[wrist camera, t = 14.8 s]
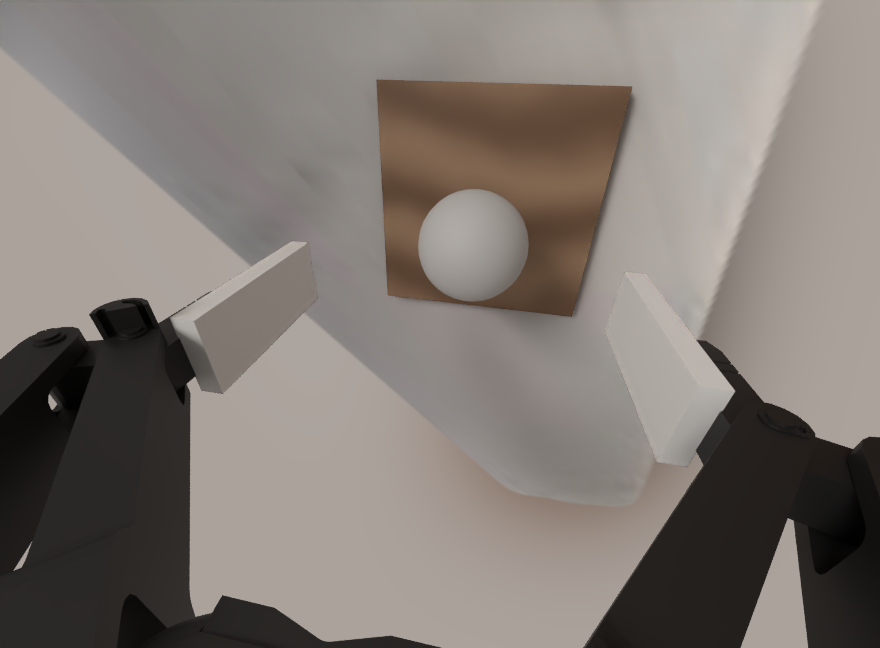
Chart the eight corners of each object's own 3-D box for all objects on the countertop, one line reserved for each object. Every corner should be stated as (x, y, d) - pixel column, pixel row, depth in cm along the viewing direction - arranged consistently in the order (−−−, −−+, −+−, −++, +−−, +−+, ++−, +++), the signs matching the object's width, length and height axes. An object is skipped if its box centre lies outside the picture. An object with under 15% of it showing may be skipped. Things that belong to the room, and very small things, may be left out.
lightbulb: (539, 183, 25) (552, 228, 16) (507, 261, 28) (502, 336, 19) (456, 156, 25) (421, 185, 16) (434, 237, 28) (395, 299, 19)
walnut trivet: (382, 80, 25) (376, 79, 24) (627, 87, 22) (632, 86, 21) (391, 289, 33) (387, 295, 32) (570, 309, 31) (571, 316, 30)
